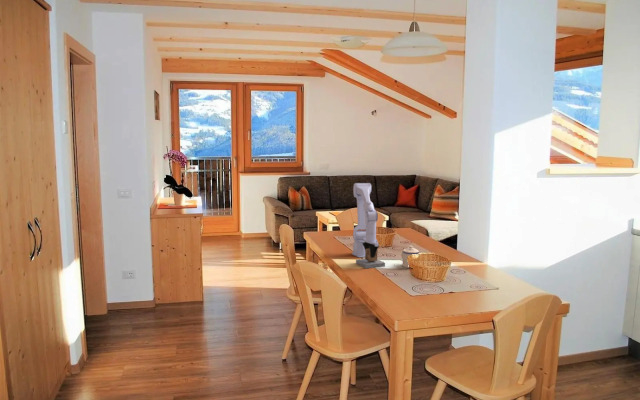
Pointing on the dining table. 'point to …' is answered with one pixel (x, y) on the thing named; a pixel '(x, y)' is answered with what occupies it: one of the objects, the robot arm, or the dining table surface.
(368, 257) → the walnut block
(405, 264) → the teacup with lid
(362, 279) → the dining table surface
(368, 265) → the slate trivet
